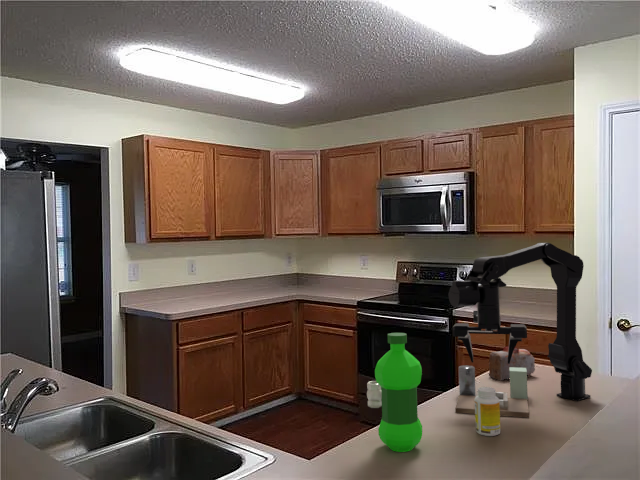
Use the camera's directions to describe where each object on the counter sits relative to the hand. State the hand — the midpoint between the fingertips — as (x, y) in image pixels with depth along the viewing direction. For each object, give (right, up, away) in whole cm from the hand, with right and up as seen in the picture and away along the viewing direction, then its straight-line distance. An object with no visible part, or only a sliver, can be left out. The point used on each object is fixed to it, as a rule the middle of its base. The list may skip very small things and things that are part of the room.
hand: (490, 362), depth 146 cm
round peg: (-3, -12, +13) cm, 18 cm away
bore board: (0, -12, 0) cm, 12 cm away
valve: (-26, -13, +5) cm, 30 cm away
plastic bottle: (-28, -13, -25) cm, 40 cm away
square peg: (+11, -12, +8) cm, 18 cm away
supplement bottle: (-6, -13, -18) cm, 23 cm away
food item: (+17, -12, +31) cm, 37 cm away
